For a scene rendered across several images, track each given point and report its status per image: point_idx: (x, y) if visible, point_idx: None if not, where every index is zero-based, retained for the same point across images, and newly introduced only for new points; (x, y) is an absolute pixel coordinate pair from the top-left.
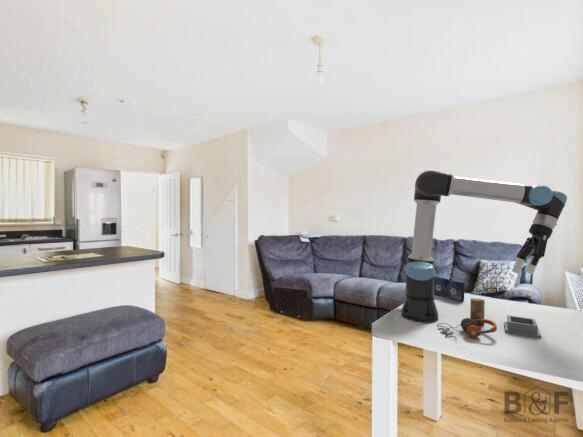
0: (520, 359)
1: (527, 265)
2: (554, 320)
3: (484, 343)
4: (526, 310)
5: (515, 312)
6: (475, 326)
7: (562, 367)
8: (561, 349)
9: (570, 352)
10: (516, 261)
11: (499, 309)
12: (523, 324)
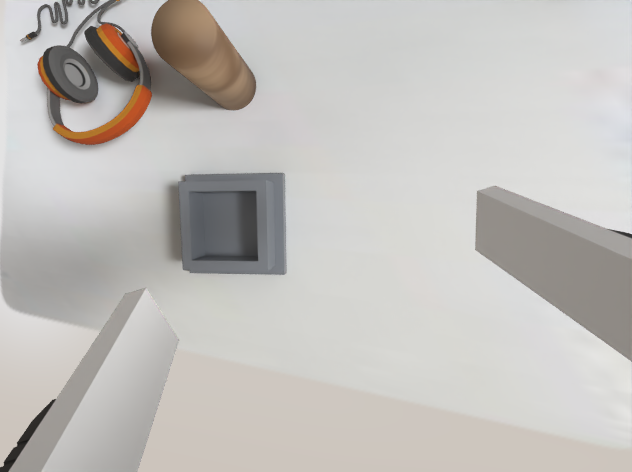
0: (6, 204)
1: (108, 340)
2: (429, 342)
3: None
4: None
5: None
6: (42, 75)
7: (16, 286)
8: None
9: None
10: (614, 244)
11: (495, 159)
12: (181, 228)
